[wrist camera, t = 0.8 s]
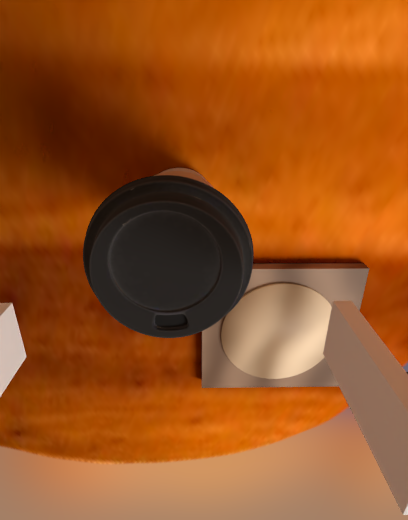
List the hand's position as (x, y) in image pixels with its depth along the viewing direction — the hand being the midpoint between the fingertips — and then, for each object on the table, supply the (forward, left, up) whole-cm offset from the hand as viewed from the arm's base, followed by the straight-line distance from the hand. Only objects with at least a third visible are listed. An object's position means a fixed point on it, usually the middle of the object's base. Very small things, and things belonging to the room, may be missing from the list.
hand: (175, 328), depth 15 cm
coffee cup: (-1, +1, -19) cm, 19 cm away
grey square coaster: (+9, -13, -19) cm, 25 cm away
